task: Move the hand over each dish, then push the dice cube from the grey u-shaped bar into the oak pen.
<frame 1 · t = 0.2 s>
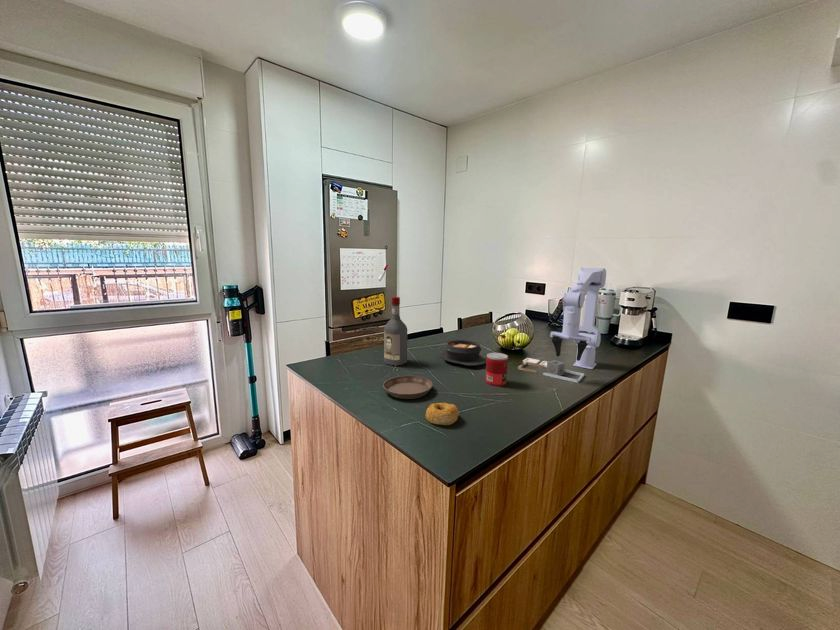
hand: (568, 357, 128), 10 cm above the counter, tool pointing down, fingers open, 7 cm apart
dish 1: (547, 365, 150), on the counter
grey u-shaped bar 3: (563, 375, 137), on the counter
plant saucer: (407, 392, 119), on the counter
canned food: (495, 383, 128), on the counter
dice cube: (555, 374, 139), on the counter
liquor: (395, 363, 151), on the counter
oak pen: (530, 368, 145), on the counter
casserole: (462, 361, 154), on the counter
dish 2: (531, 362, 154), on the counter
bagel: (441, 419, 100), on the counter
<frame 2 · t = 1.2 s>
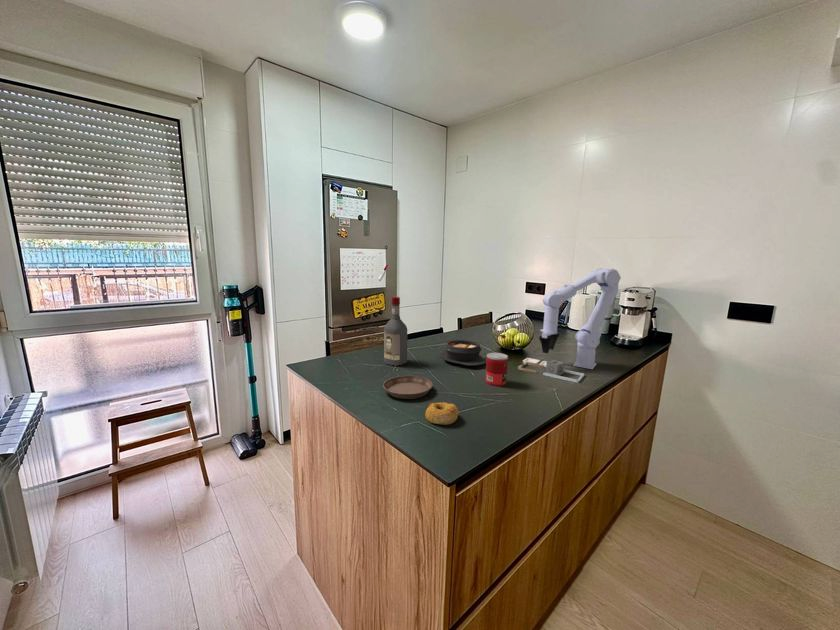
hand: (548, 350, 148), 7 cm above the counter, tool pointing down, fingers open, 7 cm apart
nothing on the counter moved.
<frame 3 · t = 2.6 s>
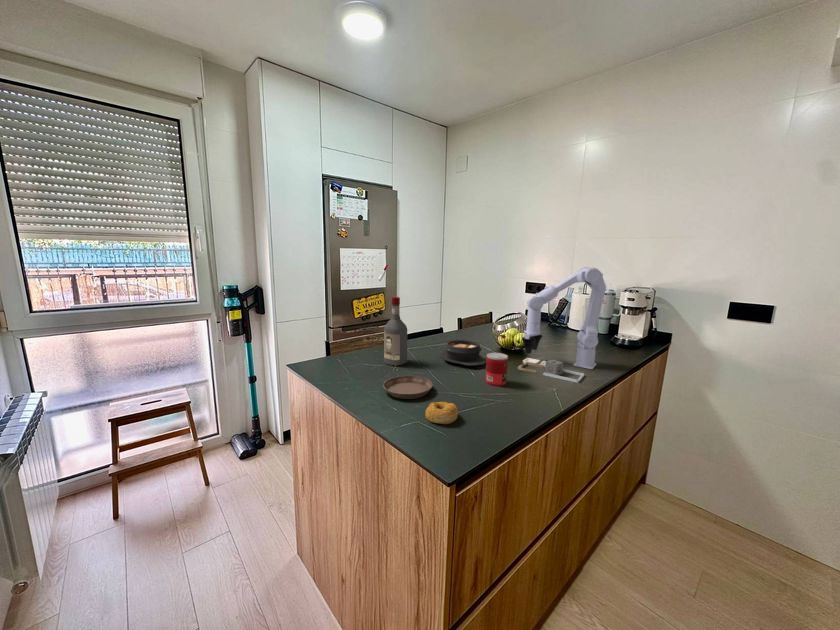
hand: (531, 351, 152), 5 cm above the counter, tool pointing down, fingers open, 7 cm apart
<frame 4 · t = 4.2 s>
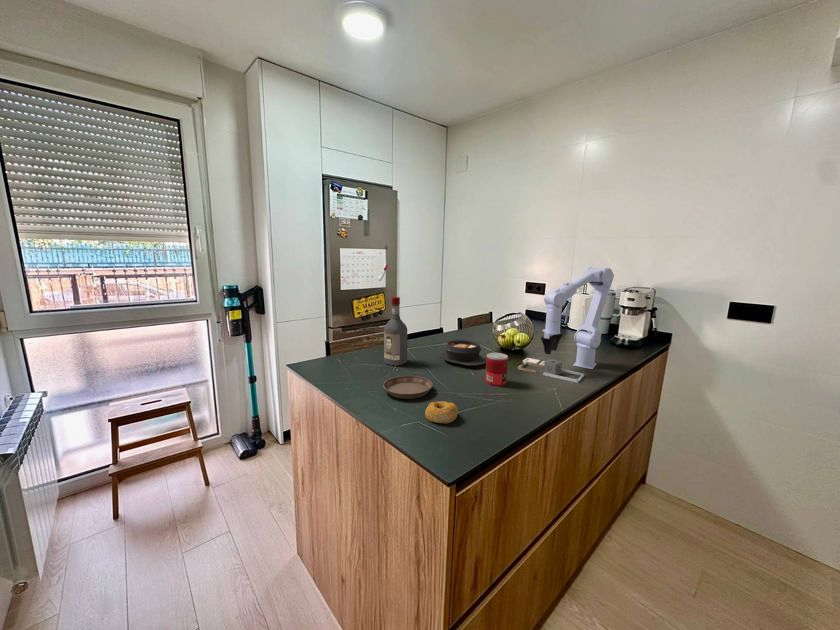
hand: (550, 352, 141), 8 cm above the counter, tool pointing down, fingers open, 7 cm apart
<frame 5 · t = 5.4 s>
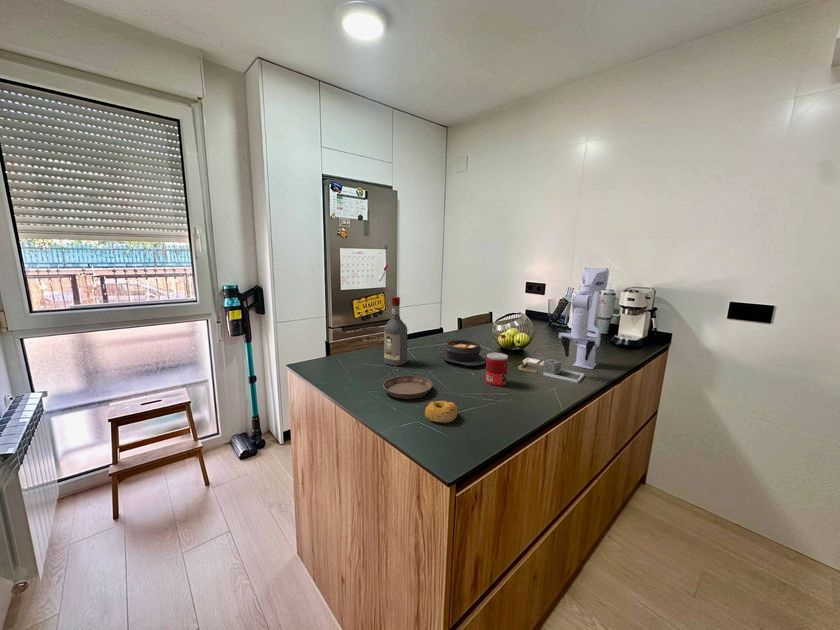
hand: (576, 357, 133), 8 cm above the counter, tool pointing down, fingers open, 7 cm apart
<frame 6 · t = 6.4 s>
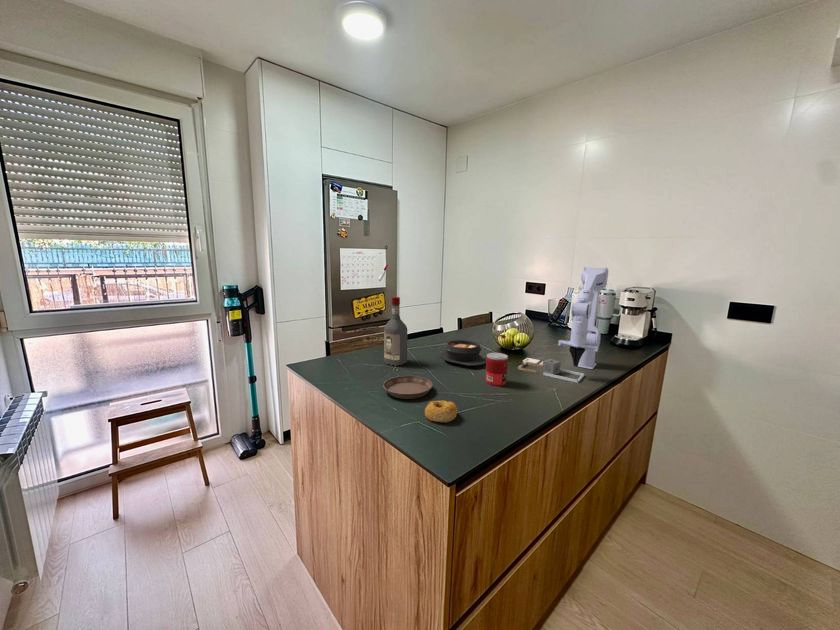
hand: (575, 365, 133), 5 cm above the counter, tool pointing down, fingers closed
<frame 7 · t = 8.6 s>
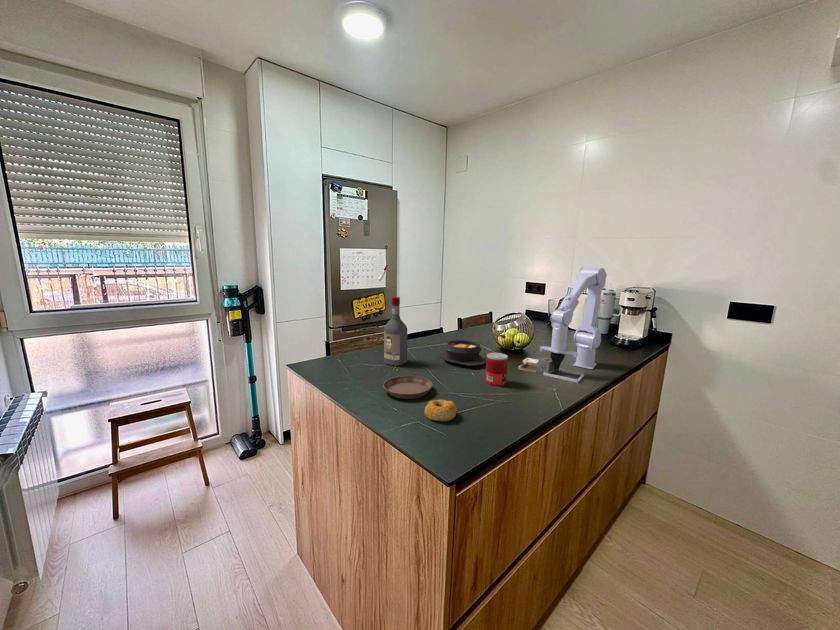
hand: (556, 370, 138), 1 cm above the counter, tool pointing down, fingers closed
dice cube: (546, 371, 142), on the counter, touching gripper
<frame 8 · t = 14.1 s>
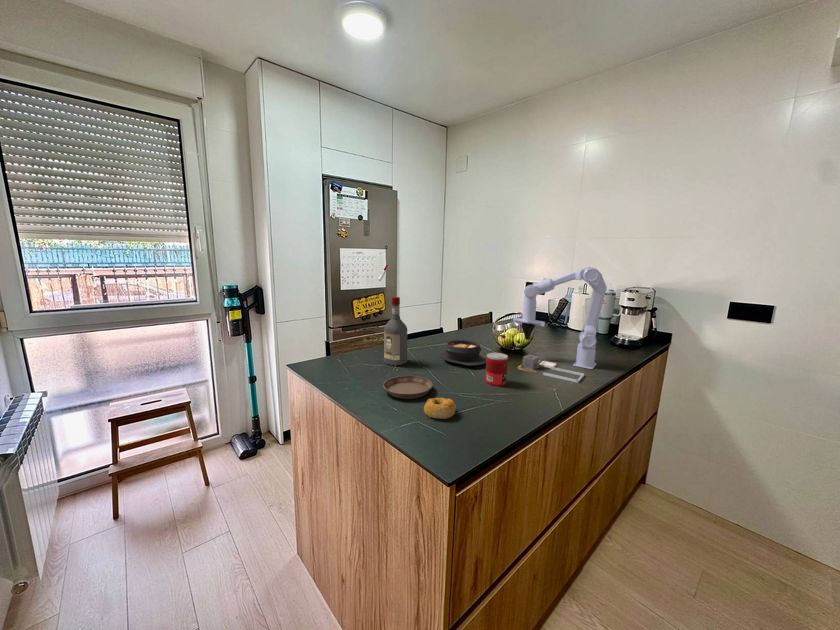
hand: (527, 339, 156), 10 cm above the counter, tool pointing down, fingers closed
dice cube: (530, 368, 147), on the counter, touching oak pen
bagel: (439, 413, 103), on the counter
everything else where it was.
at the end: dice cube inside the target area on the oak pen (1.2 cm from its centre), point 0.0 cm above the oak pen's base; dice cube moved 11.1 cm from its start; the gripper is holding nothing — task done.
